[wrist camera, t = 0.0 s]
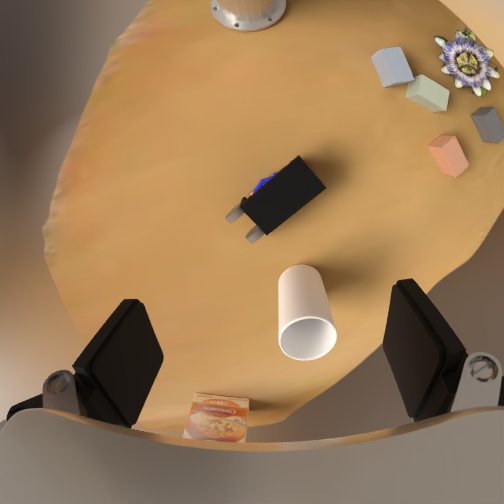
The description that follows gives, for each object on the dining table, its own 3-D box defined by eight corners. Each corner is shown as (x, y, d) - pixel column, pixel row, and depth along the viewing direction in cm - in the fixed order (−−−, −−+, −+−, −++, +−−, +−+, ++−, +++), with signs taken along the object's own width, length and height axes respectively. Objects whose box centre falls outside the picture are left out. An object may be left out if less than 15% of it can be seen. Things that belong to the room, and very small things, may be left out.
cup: (287, 258, 49) (291, 310, 34) (328, 271, 49) (347, 324, 35) (272, 295, 52) (270, 353, 38) (311, 306, 53) (321, 365, 38)
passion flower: (429, 75, 37) (423, 37, 27) (458, 48, 31) (456, 9, 20) (474, 116, 33) (483, 84, 23) (502, 87, 27) (513, 52, 16)
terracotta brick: (427, 145, 39) (441, 147, 34) (440, 135, 37) (455, 136, 33) (441, 172, 40) (456, 177, 35) (454, 161, 39) (469, 165, 34)
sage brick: (405, 97, 36) (418, 94, 31) (408, 79, 34) (421, 74, 30) (431, 112, 36) (446, 110, 31) (435, 93, 34) (449, 90, 30)
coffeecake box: (249, 397, 66) (242, 460, 48) (249, 411, 68) (242, 469, 51) (194, 391, 67) (177, 450, 49) (197, 405, 69) (183, 461, 52)
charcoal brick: (470, 115, 34) (485, 115, 30) (479, 107, 33) (494, 107, 29) (482, 141, 36) (497, 143, 31) (491, 132, 35) (506, 134, 30)
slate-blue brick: (370, 57, 34) (380, 49, 29) (389, 54, 33) (400, 46, 28) (383, 87, 36) (394, 83, 31) (401, 84, 35) (414, 80, 30)
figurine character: (257, 233, 49) (324, 178, 43) (250, 252, 43) (328, 190, 36) (230, 205, 48) (296, 147, 41) (219, 221, 41) (296, 152, 35)
